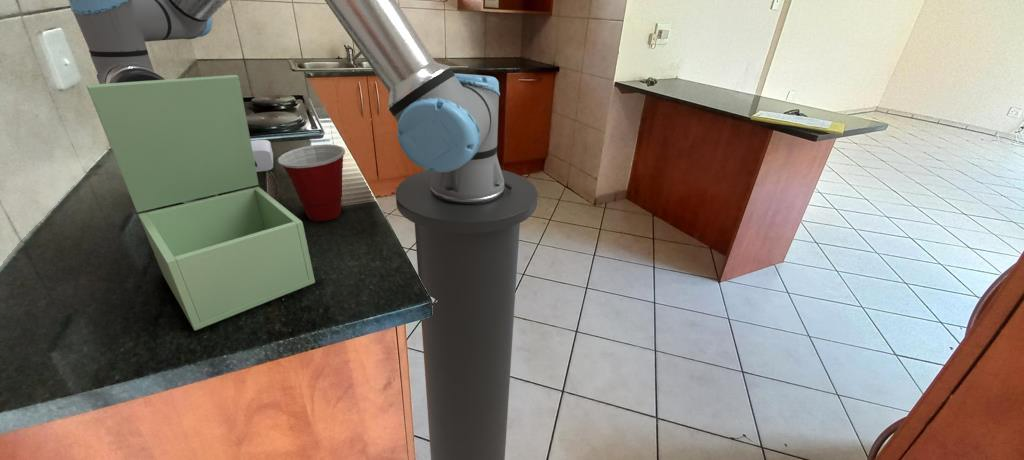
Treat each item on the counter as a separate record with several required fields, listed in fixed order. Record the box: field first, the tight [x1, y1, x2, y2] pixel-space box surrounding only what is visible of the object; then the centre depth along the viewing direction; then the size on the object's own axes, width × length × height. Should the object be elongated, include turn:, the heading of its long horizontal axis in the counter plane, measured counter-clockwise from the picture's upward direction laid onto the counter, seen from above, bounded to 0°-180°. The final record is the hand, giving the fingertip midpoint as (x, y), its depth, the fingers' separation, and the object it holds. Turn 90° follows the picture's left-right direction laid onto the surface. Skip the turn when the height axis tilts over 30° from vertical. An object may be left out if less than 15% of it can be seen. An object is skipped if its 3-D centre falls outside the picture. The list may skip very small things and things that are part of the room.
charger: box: [251, 139, 274, 173], centre depth 100 cm, size 5×9×15 cm
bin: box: [137, 186, 316, 331], centre depth 58 cm, size 16×15×10 cm
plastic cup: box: [277, 143, 346, 222], centre depth 76 cm, size 11×11×12 cm
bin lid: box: [85, 74, 260, 213], centre depth 55 cm, size 16×15×1 cm
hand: (179, 122), depth 54 cm, fingers closed
